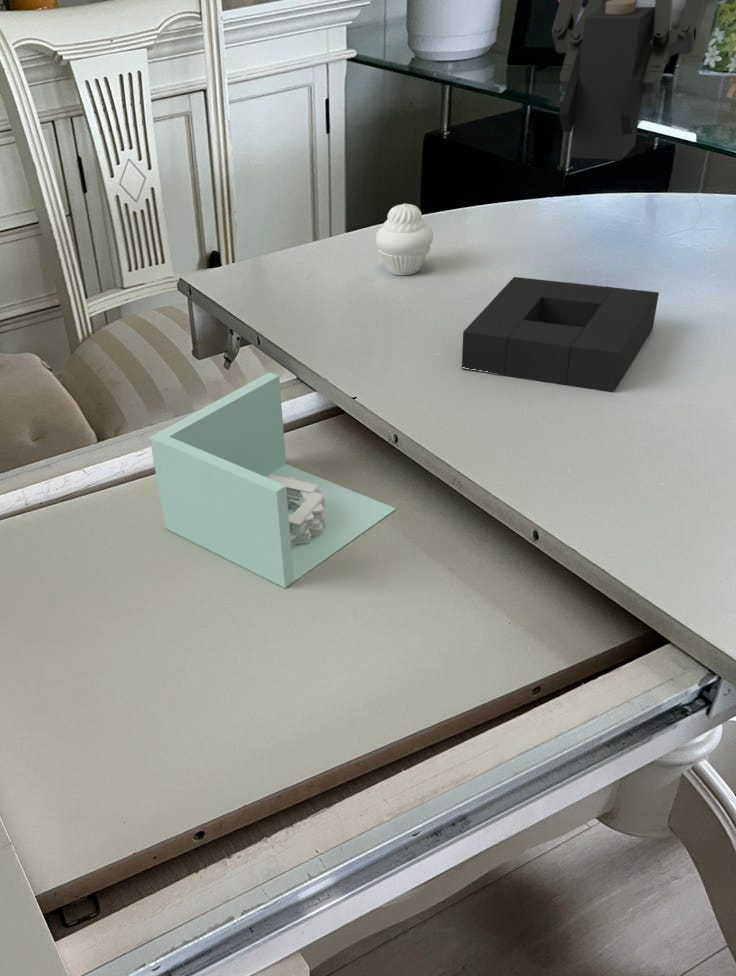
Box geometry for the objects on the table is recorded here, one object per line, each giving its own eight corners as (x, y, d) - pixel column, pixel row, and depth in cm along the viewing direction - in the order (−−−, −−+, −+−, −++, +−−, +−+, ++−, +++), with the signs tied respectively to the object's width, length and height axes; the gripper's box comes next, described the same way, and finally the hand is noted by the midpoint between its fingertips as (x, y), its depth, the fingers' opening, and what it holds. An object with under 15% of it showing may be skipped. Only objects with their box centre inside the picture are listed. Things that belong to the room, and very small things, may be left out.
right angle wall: (285, 588, 66) (276, 491, 62) (165, 528, 73) (149, 437, 69) (396, 508, 73) (396, 415, 68) (276, 460, 79) (268, 372, 75)
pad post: (634, 146, 92) (656, -5, 84) (621, 160, 89) (642, 5, 82) (584, 143, 94) (601, -4, 86) (570, 157, 91) (585, 6, 84)
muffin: (364, 275, 108) (363, 208, 104) (396, 256, 112) (396, 191, 107) (412, 284, 105) (413, 216, 101) (443, 265, 109) (445, 198, 104)
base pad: (652, 329, 92) (659, 292, 89) (613, 392, 83) (620, 352, 81) (511, 312, 97) (513, 276, 95) (461, 369, 89) (463, 331, 87)
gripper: (567, -160, 87) (489, 95, 88) (786, -179, 80) (700, 100, 80) (578, -93, 94) (505, 144, 94) (781, -104, 86) (702, 153, 87)
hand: (595, 123), depth 87 cm, fingers closed on pad post, 5 cm apart
